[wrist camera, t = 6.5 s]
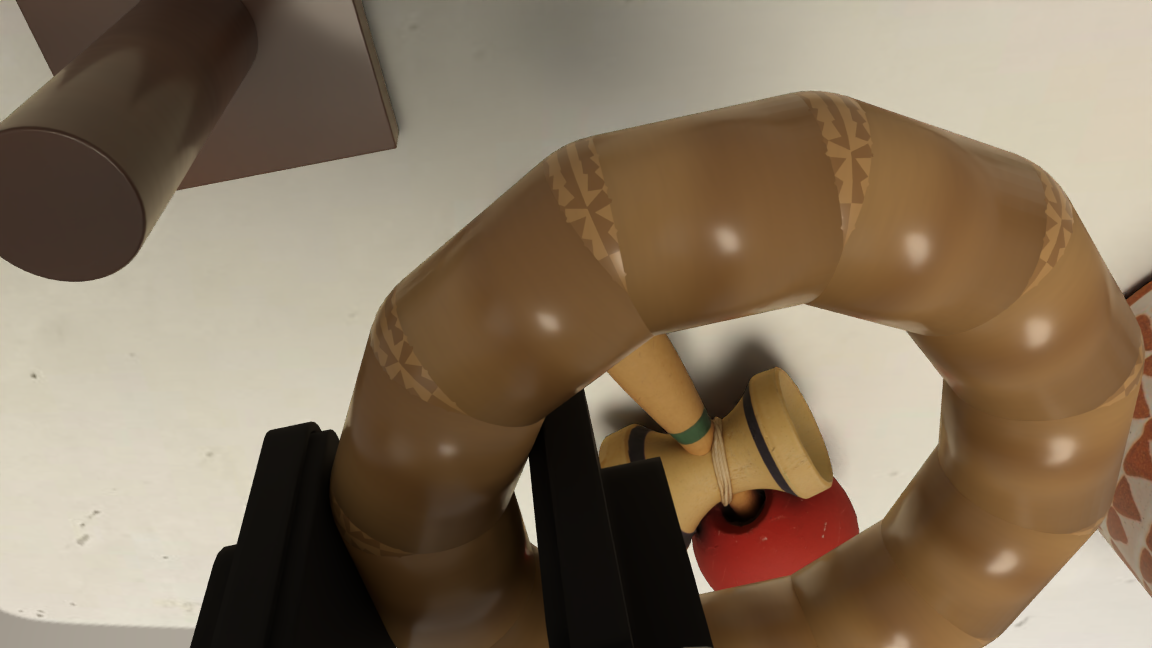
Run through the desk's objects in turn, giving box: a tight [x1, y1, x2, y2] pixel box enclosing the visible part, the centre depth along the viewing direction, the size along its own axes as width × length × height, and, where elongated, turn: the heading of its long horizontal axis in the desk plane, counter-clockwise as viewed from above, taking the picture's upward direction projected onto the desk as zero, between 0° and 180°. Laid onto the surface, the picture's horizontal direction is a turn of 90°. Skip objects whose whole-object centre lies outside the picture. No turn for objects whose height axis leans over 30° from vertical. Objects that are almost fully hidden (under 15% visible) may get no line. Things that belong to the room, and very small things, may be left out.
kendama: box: [599, 334, 859, 591], centre depth 30 cm, size 8×6×18 cm
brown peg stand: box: [0, 0, 399, 282], centre depth 19 cm, size 8×8×11 cm
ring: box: [329, 91, 1145, 648], centre depth 11 cm, size 9×9×2 cm
